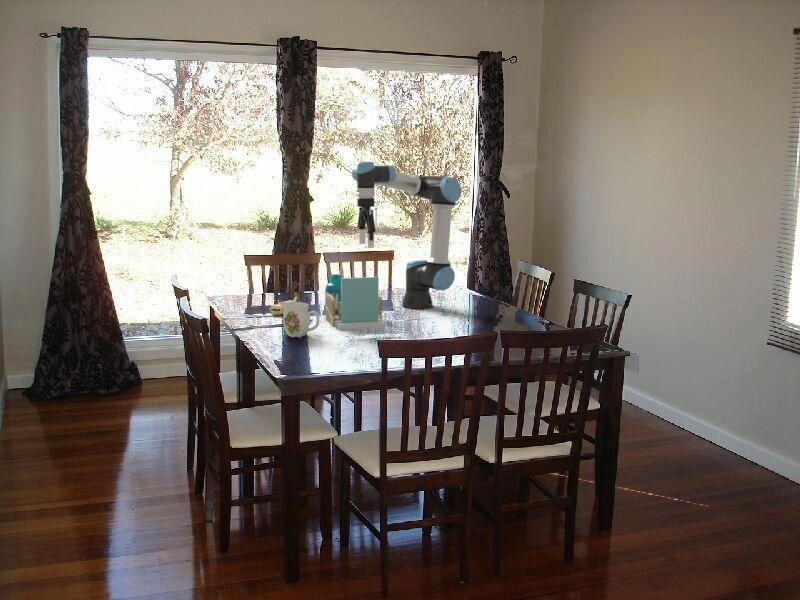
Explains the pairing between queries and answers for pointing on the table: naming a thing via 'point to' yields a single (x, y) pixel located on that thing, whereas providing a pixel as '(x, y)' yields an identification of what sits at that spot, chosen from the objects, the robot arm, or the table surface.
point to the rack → (331, 309)
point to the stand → (359, 325)
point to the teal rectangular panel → (359, 299)
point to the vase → (334, 290)
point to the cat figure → (278, 308)
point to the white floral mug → (297, 318)
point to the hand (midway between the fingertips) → (366, 245)
